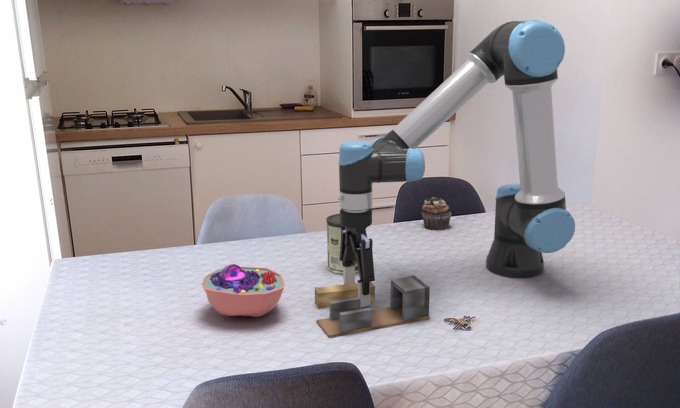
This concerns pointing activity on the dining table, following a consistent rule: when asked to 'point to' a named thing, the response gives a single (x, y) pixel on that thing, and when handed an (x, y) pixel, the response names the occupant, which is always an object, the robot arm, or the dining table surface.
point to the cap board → (379, 310)
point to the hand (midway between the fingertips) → (356, 298)
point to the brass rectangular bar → (339, 293)
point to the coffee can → (335, 245)
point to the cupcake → (436, 214)
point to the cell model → (243, 290)
